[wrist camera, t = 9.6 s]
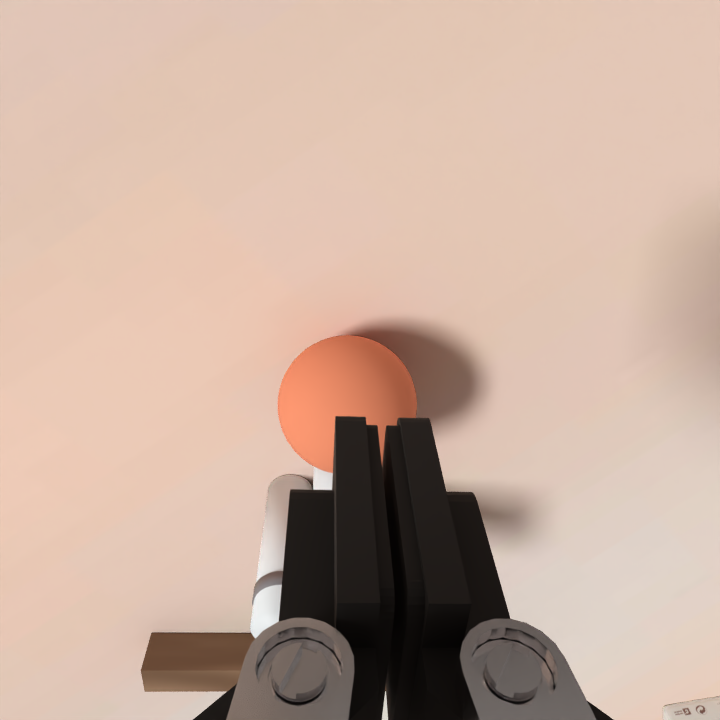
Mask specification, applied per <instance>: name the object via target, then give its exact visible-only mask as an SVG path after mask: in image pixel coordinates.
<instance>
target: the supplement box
mask: <svg viewBox="0 0 720 720" xmlns="http://www.w3.org/2000/svg"><path fill="white" fill-rule="evenodd" d="M663 720H720V696H718V697H712V698H705V699H700V700H694V701H688V702H682V703H676V704H671V705H666V706H664V707H663Z"/></svg>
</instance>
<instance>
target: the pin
mask: <svg viewBox="0 0 720 720" xmlns="http://www.w3.org/2000/svg"><path fill="white" fill-rule="evenodd" d="M290 489H305V490H313V488H312V485H311V484H310V483H309V482H308V481H307V480H306V479H305V478H303V477H300V476H297V475H283V476H280V477H278V478H276V479H275V480H273V481H272V482H271V484H270V485H269V488H268V495H267V502H266V510H265V518H264V526H263V533H262V541H261V549H260V556H259V564H258V572H257V580H256V584H255V587H254V594H253V602H252V604H253V610H252V618H251V626H250V630H251V633H252V635H253V636H254V638H255V639H256V638H257V637H258V636H259V634H260V633H261V632H262V631H263V630H265V629H267V628H268V627H270V626H272V625H273V624H275V623H277V622H279V611H280V599H281V588H282V576H283V564H284V553H285V541H286V530H287V518H288V506H289V495H290Z"/></svg>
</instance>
